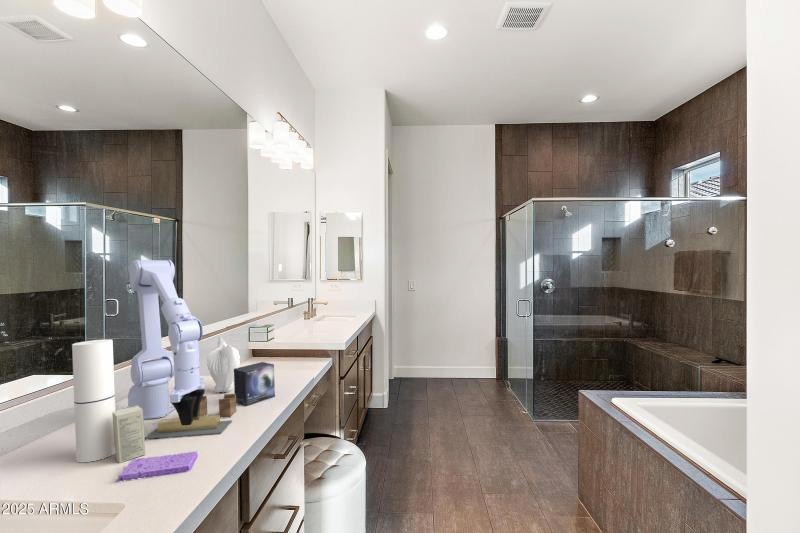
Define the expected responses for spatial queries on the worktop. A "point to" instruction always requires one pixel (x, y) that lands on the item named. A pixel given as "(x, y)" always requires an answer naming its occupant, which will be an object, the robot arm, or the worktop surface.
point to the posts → (220, 406)
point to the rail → (196, 424)
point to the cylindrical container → (94, 399)
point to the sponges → (158, 466)
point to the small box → (254, 383)
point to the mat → (189, 432)
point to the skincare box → (128, 433)
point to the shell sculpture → (223, 365)
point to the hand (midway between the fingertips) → (189, 422)
